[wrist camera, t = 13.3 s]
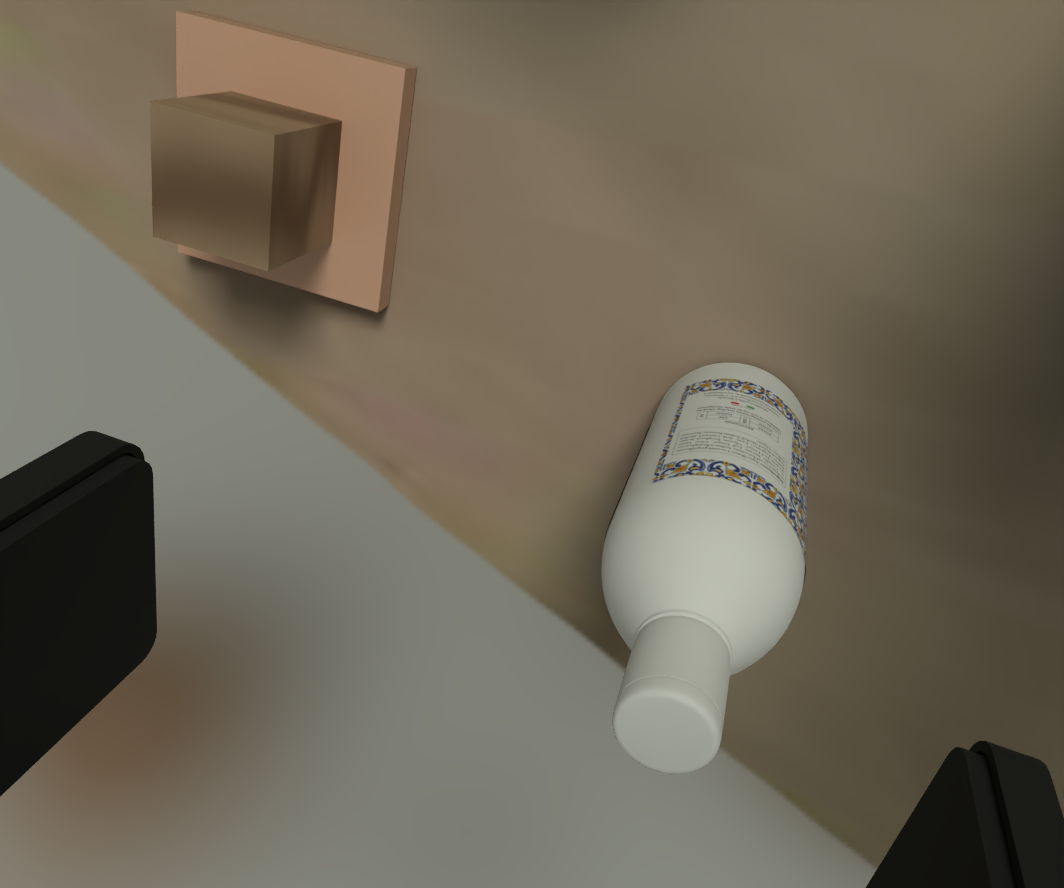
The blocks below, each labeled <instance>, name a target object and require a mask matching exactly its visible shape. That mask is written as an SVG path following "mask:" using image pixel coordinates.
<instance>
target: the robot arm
mask: <svg viewBox="0 0 1064 888" xmlns="http://www.w3.org/2000/svg"><path fill="white" fill-rule="evenodd" d="M155 580H156V579H155V538H154V499H153V472H152V468H151V466H150V464H149V463H147V462H145V460H144V454H143V452H142V451H141V449H140V448H139V447H137V446H136V445H134V444H131V443H128V442H125V441H122V440H119V439H117V438H114V437H111V436H108V435H105V434H102V433H99V432H96V431H88V432H85V433H82V434H80V435H78V436H76V437H75V438H73V439H71V440H69V441H67V442H66V443H64V444H62V445H60V446H59V447H57V448H55V449H53V450H51V451H49V452H48V453H46V454H44V455H42V456H41V457H39V458H37V459H35V460H34V461H32V462H30V463H28V464H26V465H25V466H23V467H21V468H19V469H18V470H16V471H14V472H12V473H10V474H9V475H7V476H5V477H3V478H1V479H0V796H1V795H2V794H3V793H4V792H5V791H6V790H7V789H9V788H10V787H11V786H12V785H13V784H14V783H15V782H16V781H17V780H18V779H19V778H20V777H21V776H22V775H23V774H24V773H25V772H26V771H28V770H29V768H31V767H32V766H33V765H34V764H35V763H36V762H37V761H38V760H39V759H40V758H41V757H42V756H43V755H44V754H45V753H46V752H48V751H49V749H51V748H52V747H53V746H54V745H55V744H56V743H57V742H58V741H59V740H60V739H61V738H62V737H63V736H64V735H65V734H66V733H67V732H69V731H70V730H71V729H72V728H73V727H74V726H75V725H76V724H77V723H78V722H79V721H80V720H81V719H82V718H83V717H84V716H85V715H86V714H87V713H89V712H90V711H91V710H92V709H93V708H94V707H95V706H96V705H97V704H98V703H99V702H100V701H101V700H102V699H103V698H104V697H105V696H106V695H107V694H109V692H111V691H112V690H113V689H114V688H115V687H116V686H117V685H118V684H119V683H120V682H121V681H122V680H123V679H124V678H125V677H126V676H127V675H129V674H130V673H131V672H132V671H133V670H134V669H135V668H136V667H137V666H138V665H139V664H140V663H141V662H142V661H143V660H144V659H145V658H146V657H147V655H148V653H149V652H150V650H151V648H152V646H153V644H154V641H155V638H156V633H157V618H156V581H155ZM866 888H1064V818H1063V814H1062V811H1061V808H1060V805H1059V801H1058V798H1057V795H1056V792H1055V788H1054V785H1053V782H1052V779H1051V775H1050V773H1049V771H1048V768H1047V766H1046V765H1045V764H1044V763H1043V762H1042V761H1041V760H1038V759H1036V758H1033V757H1030V756H1027V755H1024V754H1021V753H1018V752H1015V751H1013V750H1010V749H1007V748H1004V747H1001V746H998V745H995V744H992V743H990V742H987V741H979V742H977V743H975V744H974V745H973V746H972V747H971V749H970V750H966V749H963V748H959V747H956V748H954V749H953V750H952V751H951V752H950V753H949V754H948V756H947V757H946V759H945V761H944V762H943V764H942V765H941V767H940V769H939V770H938V772H937V774H936V775H935V777H934V778H933V780H932V782H931V783H930V785H929V786H928V788H927V790H926V791H925V793H924V795H923V796H922V798H921V799H920V801H919V803H918V804H917V806H916V807H915V809H914V811H913V812H912V814H911V816H910V817H909V819H908V820H907V822H906V824H905V825H904V827H903V828H902V830H901V832H900V833H899V835H898V837H897V838H896V840H895V841H894V843H893V845H892V846H891V848H890V849H889V851H888V853H887V854H886V856H885V858H884V859H883V861H882V862H881V864H880V866H879V867H878V869H877V870H876V872H875V874H874V875H873V877H872V879H871V880H870V882H869V883H868V885H867V887H866Z"/></svg>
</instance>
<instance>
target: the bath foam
mask: <svg viewBox="0 0 1064 888" xmlns="http://www.w3.org/2000/svg"><path fill="white" fill-rule="evenodd" d="M649 427H650V428H649V429H648V431H647V434H646V436H645V439H644V441H643V443H642V446H641V448H640V451H639V453H638V456H637V458H636V460H635V463H634V465H633V468H632V470H631V472H630V475H629V477H628V480H627V482H626V485H625V487H624V489H623V492H622V494H621V497H620V499H619V502H618V504H617V506H616V509H615V511H614V514H613V516H612V518H611V521H610V523H609V526H608V529H607V532H606V536H605V542H604V547H603V554H602V567H601V575H602V587H603V593H604V597H605V602H606V605H607V608H608V611H609V614H610V616H611V619H612V621H613V623H614V625H615V627H616V629H617V630H618V632H619V634H620V636H621V637H622V639H623V640H624V641H625V643H626V644H627V646H628V647H629V648H630V650H631V654H630V657H629V661H628V664H627V667H626V671H625V674H624V678H623V681H622V685H621V688H620V691H619V695H618V698H617V702H616V705H615V708H614V713H613V730H614V734H615V736H616V739H617V741H618V743H619V744H620V746H621V747H622V748H623V750H624V751H625V752H626V753H627V754H628V755H629V756H630V757H631V758H633V759H634V760H635V761H637V762H638V763H640V764H642V765H643V766H645V767H648V768H650V769H653V770H655V771H659V772H663V773H671V774H682V773H688V772H692V771H695V770H698V769H700V768H702V767H704V766H705V765H707V764H708V763H709V762H710V761H711V760H712V759H713V757H714V756H715V755H716V753H717V751H718V749H719V746H720V743H721V738H722V730H723V723H724V716H725V708H726V701H727V693H728V685H729V677H730V676H732V675H734V674H736V673H738V672H740V671H742V670H744V669H746V668H747V667H749V666H751V665H752V664H753V663H755V662H756V661H758V660H759V659H761V658H762V657H763V656H764V655H765V654H766V653H767V652H769V651H770V650H771V649H772V648H773V647H774V646H775V644H776V643H777V642H778V641H779V639H780V638H781V637H782V635H783V634H784V633H785V631H786V629H787V628H788V626H789V624H790V622H791V620H792V618H793V616H794V614H795V611H796V609H797V606H798V604H799V600H800V597H801V593H802V589H803V585H804V581H805V571H806V527H807V483H808V428H807V422H806V417H805V414H804V411H803V409H802V407H801V405H800V403H799V401H798V399H797V398H796V397H795V395H794V394H793V393H792V392H791V391H790V389H789V388H788V387H787V386H786V385H784V384H783V383H782V382H781V381H780V380H779V379H778V378H776V377H775V376H773V375H772V374H770V373H768V372H766V371H764V370H762V369H760V368H757V367H754V366H751V365H746V364H741V363H717V364H711V365H707V366H704V367H701V368H698V369H696V370H693V371H691V372H690V373H688V374H686V375H685V376H683V377H682V378H680V379H679V380H678V381H677V382H676V383H675V384H673V386H672V387H671V388H670V389H669V390H668V391H667V393H666V394H665V395H664V397H663V399H662V400H661V402H660V404H659V406H658V409H657V411H656V413H655V416H654V418H653V421H652V423H651V425H650V426H649Z"/></svg>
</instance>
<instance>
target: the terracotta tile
mask: <svg viewBox="0 0 1064 888" xmlns="http://www.w3.org/2000/svg"><path fill="white" fill-rule="evenodd" d="M176 57H177V98H180V97H188V96H196V95H204V94H213V93H221V92H229V91H233V92H237V93H240V94H244V95H248V96H252V97H255V98H259V99H263V100H266V101H270V102H274V103H278V104H281V105H285V106H289V107H292V108H296V109H300V110H304V111H307V112H311V113H315V114H318V115H322V116H326V117H330V118H333V119H337V120H341V121H342V131H341V143H340V154H339V166H338V178H337V190H336V202H335V214H334V226H333V238H332V242H331V243H329V244H327V245H325V246H322V247H320V248H318V249H316V250H314V251H312V252H309V253H307V254H305V255H303V256H301V257H298V258H296V259H294V260H292V261H290V262H288V263H285V264H283V265H281V266H279V267H277V268H274V269H272V270H270V271H265V270H262V269H258V268H255V267H252V266H249V265H245V264H242V263H239V262H235V261H232V260H229V259H226V258H222V257H219V256H216V255H213V254H209V253H206V252H203V251H199V250H196V249H193V248H190V247H186V246H183V245H180V244H178V252H180V253H183V254H187V255H190V256H193V257H197V258H200V259H203V260H207V261H210V262H213V263H216V264H220V265H223V266H226V267H230V268H233V269H236V270H239V271H243V272H246V273H249V274H253V275H256V276H259V277H263V278H266V279H269V280H272V281H276V282H279V283H282V284H286V285H289V286H292V287H296V288H299V289H302V290H305V291H309V292H312V293H315V294H319V295H322V296H325V297H328V298H332V299H335V300H338V301H342V302H345V303H348V304H352V305H355V306H358V307H361V308H365V309H368V310H371V311H375V312H380V311H381V310H383V309H384V308H386V307H387V306H389V298H390V290H391V281H392V273H393V265H394V256H395V248H396V239H397V231H398V222H399V214H400V206H401V197H402V189H403V180H404V172H405V163H406V155H407V146H408V138H409V130H410V121H411V113H412V104H413V96H414V87H415V79H416V71H417V67H414V66H410V65H406V64H402V63H398V62H394V61H390V60H386V59H382V58H378V57H374V56H370V55H366V54H362V53H358V52H354V51H350V50H346V49H342V48H338V47H334V46H330V45H326V44H322V43H318V42H314V41H310V40H306V39H302V38H298V37H294V36H290V35H286V34H282V33H278V32H274V31H270V30H266V29H262V28H258V27H254V26H250V25H246V24H242V23H238V22H234V21H230V20H226V19H222V18H218V17H214V16H211V15H207V14H203V13H199V12H195V11H176Z"/></svg>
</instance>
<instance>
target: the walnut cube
mask: <svg viewBox="0 0 1064 888" xmlns="http://www.w3.org/2000/svg"><path fill="white" fill-rule="evenodd" d="M150 107H151V160H152V212H153V237H157V238H160V239H163V240H167V241H170V242H173V243H176V244H180V245H183V246H186V247H190V248H193V249H196V250H199V251H203V252H206V253H209V254H213V255H216V256H219V257H222V258H226V259H229V260H232V261H235V262H239V263H242V264H245V265H249V266H252V267H255V268H258V269H262V270H265V271H270V270H272V269H274V268H277V267H279V266H281V265H283V264H285V263H288V262H290V261H292V260H294V259H296V258H298V257H301V256H303V255H305V254H307V253H309V252H312V251H314V250H316V249H318V248H320V247H322V246H325V245H327V244H329V243H331V242H332V238H333V226H334V214H335V202H336V190H337V178H338V166H339V154H340V143H341V131H342V121H341V120H337V119H333V118H330V117H326V116H322V115H318V114H315V113H311V112H307V111H304V110H300V109H296V108H292V107H289V106H285V105H281V104H278V103H274V102H270V101H266V100H263V99H259V98H255V97H252V96H248V95H244V94H240V93H237V92H233V91H229V92H221V93H213V94H204V95H196V96H188V97H180V98H172V99H164V100H155V101H150Z"/></svg>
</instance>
